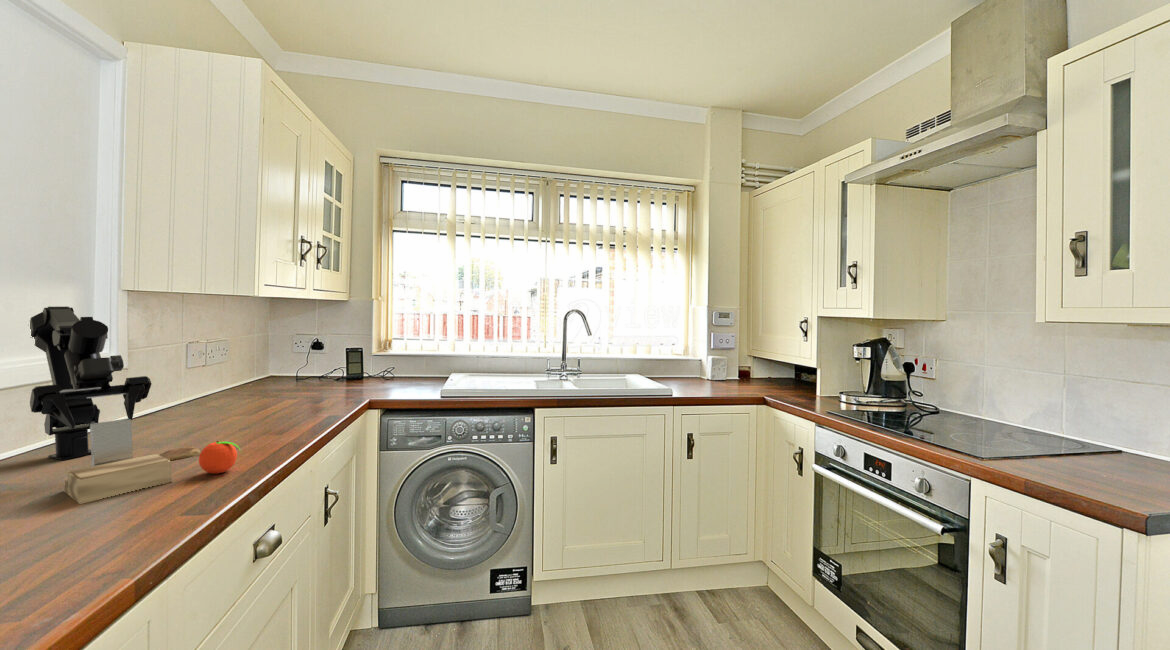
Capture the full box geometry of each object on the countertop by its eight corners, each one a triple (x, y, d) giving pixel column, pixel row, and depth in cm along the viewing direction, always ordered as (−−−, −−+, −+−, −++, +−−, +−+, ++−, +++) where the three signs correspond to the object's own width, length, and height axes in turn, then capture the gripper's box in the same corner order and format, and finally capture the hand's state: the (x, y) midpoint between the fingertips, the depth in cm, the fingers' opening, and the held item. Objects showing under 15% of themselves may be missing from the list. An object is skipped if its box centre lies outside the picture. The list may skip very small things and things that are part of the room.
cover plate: (92, 486, 104) (89, 424, 103) (130, 478, 109) (128, 418, 108) (95, 488, 103) (92, 425, 102) (133, 479, 108) (131, 419, 107)
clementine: (248, 466, 116) (247, 435, 116) (235, 476, 110) (234, 444, 109) (208, 469, 115) (207, 438, 114) (192, 479, 108) (191, 446, 108)
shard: (145, 468, 116) (145, 461, 116) (134, 462, 121) (134, 455, 121) (201, 456, 125) (201, 449, 125) (189, 451, 130) (189, 444, 130)
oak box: (63, 491, 101) (62, 467, 101) (152, 471, 113) (151, 450, 113) (79, 504, 95) (78, 479, 94) (172, 482, 106) (171, 459, 106)
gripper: (29, 347, 103) (45, 407, 97) (147, 341, 118) (166, 392, 112) (23, 382, 107) (38, 441, 102) (137, 372, 123) (155, 423, 117)
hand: (103, 423), depth 108 cm, fingers open, 9 cm apart
